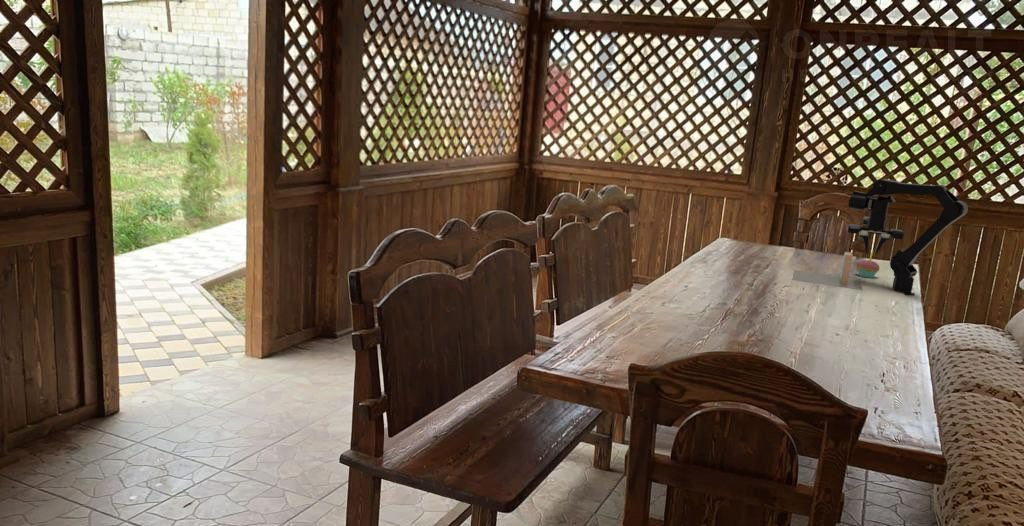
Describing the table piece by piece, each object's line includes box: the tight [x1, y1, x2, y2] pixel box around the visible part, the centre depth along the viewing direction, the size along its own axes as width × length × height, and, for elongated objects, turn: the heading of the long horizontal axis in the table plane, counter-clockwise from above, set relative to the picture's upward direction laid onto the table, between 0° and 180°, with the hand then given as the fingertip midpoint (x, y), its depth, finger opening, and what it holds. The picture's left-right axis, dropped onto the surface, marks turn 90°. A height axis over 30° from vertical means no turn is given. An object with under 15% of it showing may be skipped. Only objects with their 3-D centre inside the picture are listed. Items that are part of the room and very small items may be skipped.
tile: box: [840, 251, 854, 284], centre depth 277 cm, size 2×7×11 cm, turn 158°
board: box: [792, 269, 863, 291], centre depth 280 cm, size 24×20×1 cm
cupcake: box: [855, 249, 880, 279], centre depth 291 cm, size 9×8×12 cm
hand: (870, 254), depth 277 cm, fingers open, 3 cm apart
